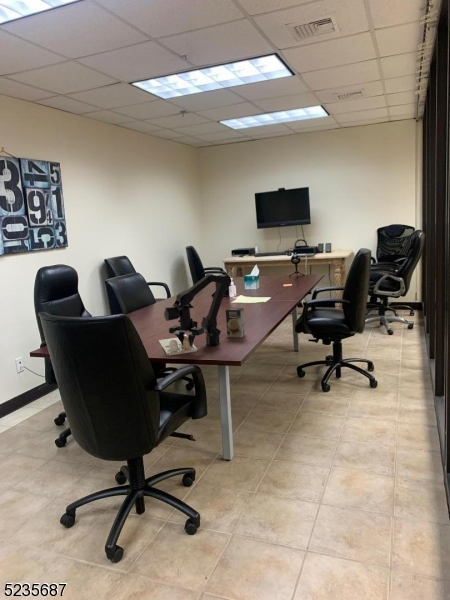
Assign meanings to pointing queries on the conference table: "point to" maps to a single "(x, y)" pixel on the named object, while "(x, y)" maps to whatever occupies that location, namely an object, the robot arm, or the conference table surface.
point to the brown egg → (186, 344)
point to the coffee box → (235, 322)
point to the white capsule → (173, 346)
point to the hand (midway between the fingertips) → (187, 346)
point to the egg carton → (180, 349)
